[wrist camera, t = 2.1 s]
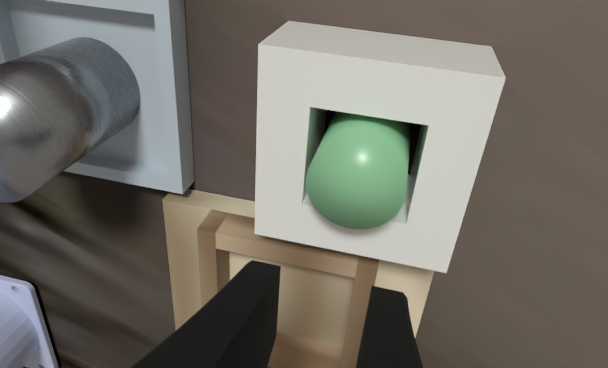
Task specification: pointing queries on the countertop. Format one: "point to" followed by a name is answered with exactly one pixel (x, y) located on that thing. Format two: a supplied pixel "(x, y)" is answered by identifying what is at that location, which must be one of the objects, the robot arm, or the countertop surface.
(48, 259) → the countertop surface
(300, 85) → the button housing
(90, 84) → the cylinder
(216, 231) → the board
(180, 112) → the tray
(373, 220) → the button
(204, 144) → the countertop surface
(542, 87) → the countertop surface
